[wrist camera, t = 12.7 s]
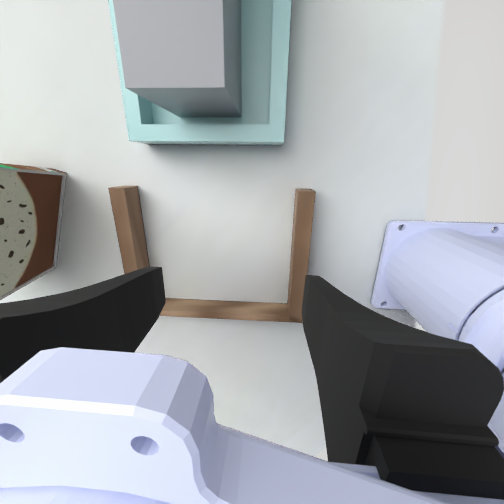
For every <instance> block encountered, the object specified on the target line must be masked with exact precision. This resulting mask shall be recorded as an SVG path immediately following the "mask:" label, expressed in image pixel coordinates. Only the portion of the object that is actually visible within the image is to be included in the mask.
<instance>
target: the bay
mask: <svg viewBox="0 0 504 504" xmlns="http://www.w3.org/2000/svg"><path fill="white" fill-rule="evenodd" d="M109 194H110V199H111V204H112V210H113V215H114V220H115V225H116V231H117V236H118V241H119V247H120V252H121V257H122V263H123V268H124V273H125V274H127V273H130V272H132V271H135V270H138V269H142V268H145V267H149V260H148V253H147V247H146V240H145V233H144V226H143V220H142V213H141V206H140V199H139V193H138V186H119V187H112V188H109ZM314 202H315V191H313V190H312V189H296V191H295V205H294V219H293V233H292V247H291V261H290V275H289V289H288V303H287V304H282V303H259V302H237V301H215V300H192V299H170V298H165V301H166V303H165V305H164V307H163V309H162V311H161V313H160V315H159V316H176V317H197V318H217V319H237V320H258V321H278V322H298V323H302V322H303V320H302V302H303V293H304V285H305V276H306V275H307V272H308V262H309V252H310V242H311V232H312V222H313V212H314Z"/></svg>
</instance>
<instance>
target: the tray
mask: <svg viewBox="0 0 504 504" xmlns="http://www.w3.org/2000/svg"><path fill="white" fill-rule="evenodd" d="M108 2H109V9H110V16H111V22H112V29H113V36H114V42H115V49H116V56H117V62H118V69H119V76H120V82H121V89H122V96H123V102H124V109H125V116H126V122H127V129H128V136H129V141H133V142H139V143H145V144H237V145H282V144H283V143H284V133H285V114H286V95H287V75H288V56H289V37H290V18H291V0H241V82H242V117H178V116H177V115H175V114H173V113H171V112H169V111H167V110H165V109H164V108H162V107H160V106H158V105H156V104H154V103H152V102H151V101H149V100H147V99H145V98H143V97H141V96H139V95H138V94H136V93H134V92H132V91H130V90H128V89H126V88H125V81H124V74H123V67H122V60H121V53H120V46H119V39H118V32H117V25H116V18H115V11H114V5H113V0H108Z"/></svg>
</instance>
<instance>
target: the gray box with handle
mask: <svg viewBox="0 0 504 504" xmlns="http://www.w3.org/2000/svg"><path fill="white" fill-rule="evenodd" d="M113 5H114V11H115V18H116V25H117V32H118V39H119V46H120V53H121V60H122V67H123V74H124V81H125V88H126V89H128V90H130V91H132V92H134V93H136V94H138V95H139V96H141V97H143V98H145V99H147V100H149V101H151V102H152V103H154V104H156V105H158V106H160V107H162V108H164V109H165V110H167V111H169V112H171V113H173V114H175V115H177V116H178V117H242V82H241V0H113Z"/></svg>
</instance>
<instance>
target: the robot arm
mask: <svg viewBox="0 0 504 504" xmlns="http://www.w3.org/2000/svg"><path fill="white" fill-rule="evenodd" d="M400 225H403V227H402V228H401V229H398V227H399V226H400ZM492 228H494V230H493V231H492V232H491V230H492ZM384 301H385V303H384V304H381V303H382V302H384ZM165 303H166V301H165V292H164V283H163V274H162V267H145V268H142V269H138V270H135V271H132V272H130V273H127V274H124V275H121V276H118V277H115V278H113V279H110V280H106V281H103V282H100V283H97V284H94V285H91V286H88V287H84V288H81V289H77V290H73V291H69V292H65V293H61V294H56V295H51V296H45V297H40V298H35V299H30V300H23V301H16V302H9V303H1V304H0V504H504V223H482V222H481V223H480V222H441V221H440V222H439V221H401V220H394V221H391V222H389V223H388V225H387V228H386V233H385V237H384V242H383V247H382V252H381V256H380V261H379V266H378V271H377V276H376V280H375V285H374V290H373V295H372V300H371V304H372V305H373V307H375V308H384V309H406V310H407V311H408V313H409V314H410V315H411V316H412V317H413V318H414V319H415V320H416V321H417V322H418V323H419V324H420V325H421V326H422V327H423V328H424V329H425V330H426V331H427V332H425V331H422V330H418V329H416V328H413V327H410V326H407V325H404V324H402V323H399V322H397V321H394V320H392V319H390V318H387V317H385V316H383V315H380V314H378V313H376V312H374V311H372V310H370V309H368V308H367V307H365V306H363V305H361V304H359V303H358V302H356V301H354V300H353V299H351V298H350V297H348V296H347V295H345V294H344V293H342V292H341V291H339V290H338V289H336V288H335V287H334V286H332V285H331V284H330V283H328V282H327V281H326V280H324V279H323V278H321V277H320V276H313V275H306V276H305V285H304V293H303V302H302V320H303V328H304V332H305V336H306V339H307V343H308V347H309V351H310V354H311V358H312V362H313V365H314V369H315V374H316V378H317V384H318V391H319V397H320V403H321V410H322V417H323V424H324V432H325V440H326V447H327V455H328V461H325V460H322V459H319V458H316V457H313V456H310V455H307V454H304V453H301V452H299V451H296V450H293V449H290V448H287V447H284V446H281V445H278V444H275V443H272V442H269V441H267V440H264V439H261V438H258V437H255V436H252V435H249V434H246V433H243V432H240V431H237V430H235V429H232V428H229V427H226V426H223V425H220V424H217V423H216V421H215V416H214V401H213V393H212V390H211V388H210V385H209V383H208V380H207V377H206V376H205V375H204V374H202V373H201V372H200V371H199V370H197V369H196V368H195V367H194V366H193V365H191V364H190V363H189V362H188V361H185V360H181V359H178V358H174V357H171V356H167V355H157V354H144V353H134V352H135V350H136V349H137V348H138V346H139V345H140V343H141V342H142V340H143V339H144V338H145V336H146V335H147V333H148V332H149V331H150V329H151V328H152V326H153V325H154V323H155V322H156V320H157V319H158V317H159V315H160V313H161V311H162V309H163V307H164V305H165Z"/></svg>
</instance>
